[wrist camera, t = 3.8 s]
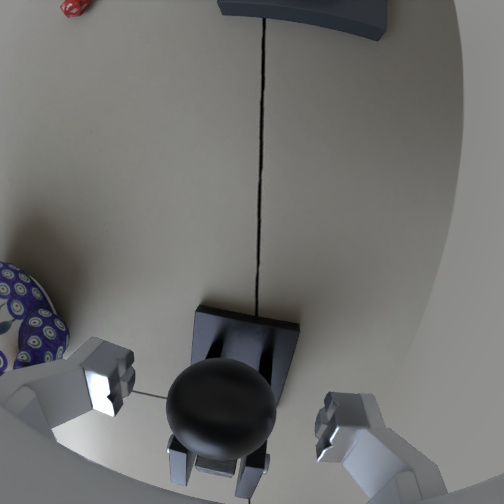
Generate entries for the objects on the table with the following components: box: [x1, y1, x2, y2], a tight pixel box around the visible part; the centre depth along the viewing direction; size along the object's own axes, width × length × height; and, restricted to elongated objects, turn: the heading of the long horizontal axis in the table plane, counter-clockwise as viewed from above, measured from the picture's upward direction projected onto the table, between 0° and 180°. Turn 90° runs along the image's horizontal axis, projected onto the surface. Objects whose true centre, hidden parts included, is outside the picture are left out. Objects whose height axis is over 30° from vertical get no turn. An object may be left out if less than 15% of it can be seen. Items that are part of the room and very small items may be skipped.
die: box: [60, 0, 91, 18], centre depth 15 cm, size 3×3×3 cm
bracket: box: [167, 305, 300, 499], centre depth 18 cm, size 10×8×12 cm
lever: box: [166, 358, 276, 478], centre depth 11 cm, size 13×3×3 cm, turn 170°
